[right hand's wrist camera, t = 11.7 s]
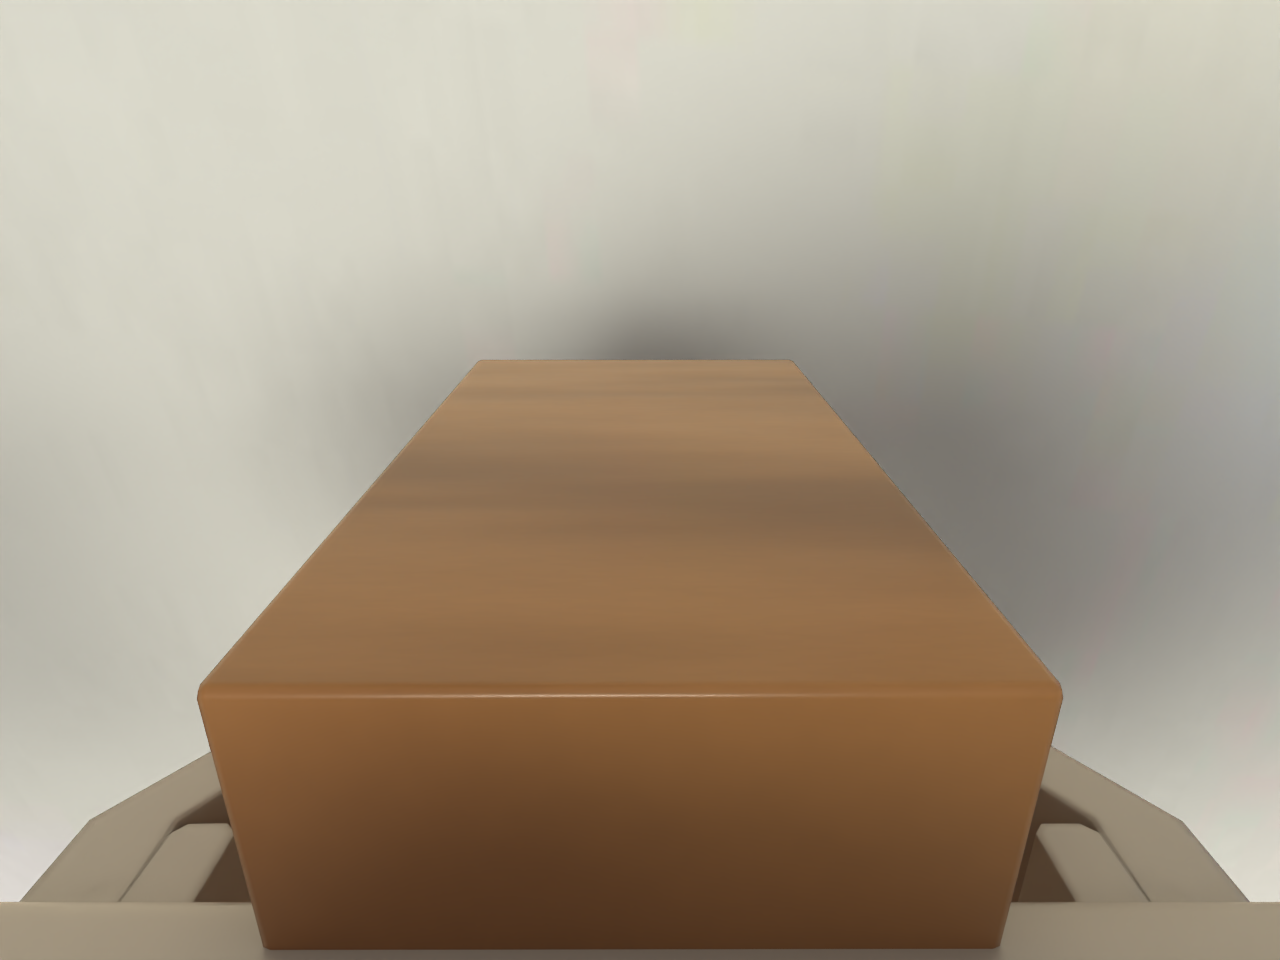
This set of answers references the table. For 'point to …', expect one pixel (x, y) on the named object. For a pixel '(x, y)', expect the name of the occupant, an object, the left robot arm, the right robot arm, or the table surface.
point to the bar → (631, 687)
